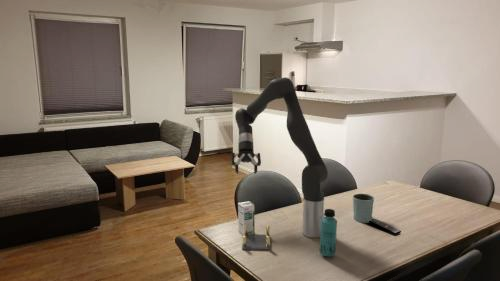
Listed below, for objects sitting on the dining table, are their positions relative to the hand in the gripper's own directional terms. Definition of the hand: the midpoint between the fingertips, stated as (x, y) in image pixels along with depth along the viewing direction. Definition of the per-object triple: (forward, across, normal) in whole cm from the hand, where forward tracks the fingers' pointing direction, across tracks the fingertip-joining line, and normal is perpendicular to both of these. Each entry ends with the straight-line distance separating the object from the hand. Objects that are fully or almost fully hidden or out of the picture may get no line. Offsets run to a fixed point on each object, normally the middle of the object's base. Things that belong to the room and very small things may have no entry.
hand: (246, 172), depth 178 cm
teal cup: (+18, +59, +16) cm, 64 cm away
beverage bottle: (+42, +32, -9) cm, 53 cm away
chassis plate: (+33, +4, +1) cm, 34 cm away
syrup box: (+27, 0, +9) cm, 28 cm away
